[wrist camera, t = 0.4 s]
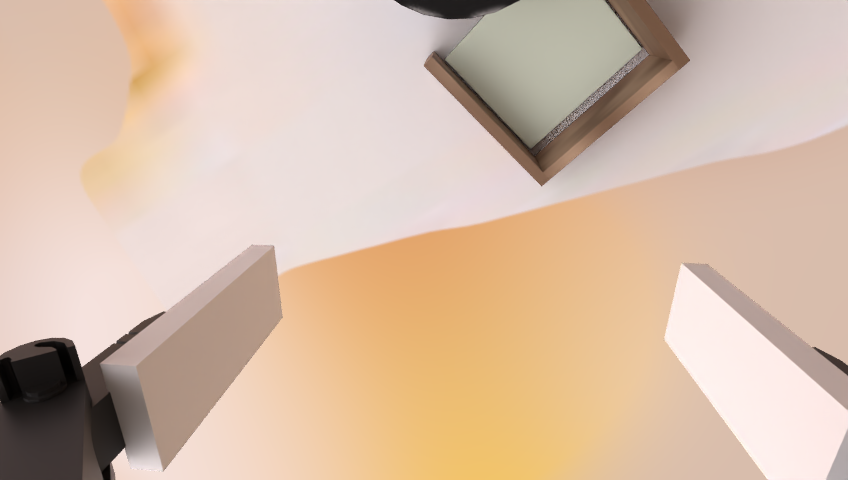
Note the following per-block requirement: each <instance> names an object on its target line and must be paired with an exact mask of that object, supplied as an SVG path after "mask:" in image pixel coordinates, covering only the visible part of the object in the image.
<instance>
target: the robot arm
mask: <svg viewBox="0 0 848 480" xmlns="http://www.w3.org/2000/svg"><path fill="white" fill-rule="evenodd" d="M281 319H282V310H281V301H280V292H279V284H278V275H277V267H276V258H275V250H274V246H268V245H251V246H250V247H249V248H247V249H246V250H245V251H244V252H242V253H241V254H240V255H238V256H237V257H236V258H235V259H233V260H232V261H231V262H229V263H228V264H227V265H226V266H224V267H223V268H222V269H221V270H219V271H218V272H217V273H215V274H214V275H213V276H212V277H210V278H209V279H208V280H206V281H205V282H204V283H203V284H201V285H200V286H199V287H197V288H196V289H195V290H194V291H192V292H191V293H190V294H188V295H187V296H186V297H185V298H183V299H182V300H181V301H179V302H178V303H177V304H176V305H174V306H173V307H172V308H170V309H169V310H168V311H167V312H162V313H159V314H157V315H155V316H153V317H151V318H149V319H147V320H144V321H143V322H141V323H140V324H139V325H137V326H136V327H135V328H133V329H132V330H131V331H130V332H129V334H125V335H124V336H123V337H121V338H120V339H119V340H118V341H117V343H116V344H112V345H111V346H110V347H108V348H107V349H106V350H104V351H103V352H102V353H100V354H99V355H98V356H96V357H95V358H94V359H92V360H91V361H90V362H88V363H87V364H86V365H84V366H83V367H81V364H80V361H79V357H78V354H77V351H76V348H75V345H74V343H73V341H72V340H69V339H66V338H49V339H43V340H38V341H34V342H30V343H27V344H24V345H21V346H18V347H16V348H14V349H12V350H9V351H7V352H5V353H3V354H2V355H1V356H0V480H115V473H114V469H113V466H112V463H111V462H112V461H113V459H114V458H115V457H116V456H117V455H118V454H119V453H120V452H121V451H122V450H123V449H124V448H125V450H126V454H127V458H128V461H129V464H130V468H131V469H141V470H152V471H164V470H165V469H166V467H167V466H168V465H169V464H170V462H171V461H172V460H173V459H174V457H175V456H176V454H177V453H178V452H179V451H180V449H181V448H182V447H183V446H184V444H185V443H186V442H187V440H188V439H189V438H190V436H191V435H192V434H193V433H194V431H195V430H196V429H197V427H198V426H199V425H200V424H201V422H202V421H203V419H204V418H205V417H206V416H207V415H208V413H209V412H210V410H211V409H212V408H213V407H214V405H215V404H216V402H218V400H219V399H220V398H221V396H222V395H223V394H224V393H225V391H226V390H227V389H228V387H229V386H230V385H231V383H232V382H233V381H234V380H235V378H236V377H237V376H238V374H239V373H240V372H241V371H242V369H243V368H244V367H245V365H246V364H247V363H248V361H249V360H250V359H251V358H252V356H253V355H254V354H255V352H256V351H257V350H258V349H259V347H260V346H261V345H262V343H263V342H264V341H265V339H266V338H267V337H268V336H269V334H270V333H271V332H272V330H273V329H274V328H275V326H276V325H277V324H278V323H279V321H280V320H281ZM664 339H665V341H666V342H667V344H668V345H669V346H670V348H671V349H672V350H673V352H674V353H675V355H676V356H677V357H678V359H679V360H680V361H681V363H682V364H683V365H684V367H685V368H686V370H687V371H688V372H689V374H690V375H691V376H692V378H693V379H694V380H695V382H696V383H697V384H698V386H699V387H700V389H701V390H702V391H703V392H704V394H705V395H706V397H707V398H708V399H709V401H710V402H711V403H712V405H713V406H714V408H715V409H716V410H717V411H718V413H719V414H720V416H721V417H722V418H723V420H724V421H725V422H726V424H727V425H728V426H729V428H730V429H731V431H732V432H733V433H734V435H735V436H736V437H737V439H738V440H739V441H740V443H741V444H742V445H743V447H744V448H745V450H746V451H747V452H748V453H749V455H750V456H751V458H752V459H753V460H754V462H755V463H756V465H757V466H758V467H759V469H760V470H761V471H762V473H763V474H764V475H765V477H766V478H767V479H768V480H848V365H846V364H845V363H843V362H842V361H841V360H839V359H837V358H835V357H833V356H831V355H829V354H827V353H825V352H824V351H822V350H820V349H817V348H816V347H811V346H810V345H808V344H807V343H806V342H805V341H803V340H802V339H801V338H800V337H798V336H797V335H796V334H795V333H793V332H792V331H791V330H790V329H788V328H787V327H786V326H785V325H783V324H782V323H781V322H779V321H778V320H777V319H776V318H774V317H773V316H772V315H771V314H769V313H768V312H767V311H766V310H764V309H763V308H762V307H761V306H759V305H758V304H757V303H756V302H754V301H753V300H752V299H750V298H749V297H748V296H747V295H745V294H744V293H743V292H742V291H740V290H739V289H738V288H737V287H736V286H734V285H733V284H732V283H730V282H729V281H728V280H727V279H725V278H724V277H723V276H722V275H720V274H719V273H718V272H717V271H715V270H714V269H713V268H712V267H710V266H709V265H708V264H692V263H681V267H680V272H679V277H678V281H677V285H676V289H675V294H674V298H673V302H672V307H671V311H670V316H669V320H668V324H667V329H666V333H665V338H664Z"/></svg>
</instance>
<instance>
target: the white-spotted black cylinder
mask: <svg viewBox="0 0 848 480" xmlns="http://www.w3.org/2000/svg"><path fill="white" fill-rule="evenodd" d="M395 1H396V2H398V3H399V4H400V5H402V6H405V7H407V8H409V9H412V10H414V11H416V12H419V13H421V14H423V15H428V16H434V17H439V18H444V19H466V18H475V17H479V16H483V15H487V14H491V13H495V12H497V11H499V10H502V9H504V8H506V7H508V6H510V5H512V4H514V3H516V2H518V1H520V0H395Z"/></svg>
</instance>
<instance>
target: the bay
mask: <svg viewBox="0 0 848 480" xmlns="http://www.w3.org/2000/svg"><path fill="white" fill-rule="evenodd" d="M607 1H608V2H609V3H610V4H611V6H612V7H613V8H614V10H615V11H616V12H617V13H618V15H619V16H620V17H621V19H622V20H623V21H624V23H625V24H626V25H627V26H628V28H629V29H630V30H631V32H632V33H633V34H634V35H635V37H636V38H637V39H638V41H639V42H640V43H641V45H642V46H643V47H644V48H645V50H646V51H647V52H648V54H649V55H648V56H647V57H646V58H645V59H644V60H643V61H642V62H641V63H639V64H638V65H637V66H636V67H635V68H634V69H633V70H632V71H630V72H629V73H628V74H627V75H626V76H625V77H624V78H622V79H621V80H620V81H619V82H618V83H617V84H616V85H615V86H613V87H612V88H611V89H610V90H609V91H608V92H607V93H606V94H604V95H603V96H602V97H601V98H600V99H599V100H598V101H597V102H595V103H594V104H593V105H592V106H591V107H590V108H589V109H588V110H586V111H585V112H584V113H583V114H582V115H581V116H580V117H578V118H577V119H576V120H575V121H574V122H573V123H572V124H571V125H569V126H568V127H567V128H566V129H565V130H564V131H563V132H562V133H560V134H559V135H558V136H557V137H556V138H555V139H554V140H553V141H551V142H550V143H549V144H548V145H547V146H546V147H545V148H544V149H542V150H541V151H540V152H539V153H538V154H537V155H536V156H534V155H533V154H532V153H531V152H530V151H529V150H528V149H527V148H526V147H525V146H524V145H523V144H522V143H521V142H520V141H519V140H518V139H517V138H516V137H515V136H514V134H513V133H512V132H511V131H510V130H509V129H508V128H507V127H506V126H505V125H504V124H503V123H502V122H501V121H500V120H499V119H498V118H497V117H496V116H495V115H494V114H493V113H492V111H491V110H490V109H489V108H488V107H487V106H486V105H485V104H484V103H483V102H482V101H481V100H480V99H479V98H478V97H477V96H476V95H475V94H474V93H473V92H472V91H471V90H470V89H469V87H468V86H467V85H466V84H465V83H464V82H463V81H462V80H461V79H460V78H459V77H458V76H457V75H456V74H455V73H454V72H453V71H452V70H451V69H450V68H449V67H448V66H447V64H446V63H445V62H444V61H443V60H442V59H441V58H440V57H439V56H438V55H437V54H436V53H435V52H433V53H432V54H431V55H430V56H429V57H428V58H427V60H426V62H425V64H424V67H425V68H426V69H427V70H428V71H429V72H430V73H431V74H432V75H433V76H434V77H435V78H436V79H437V80H438V81H439V82H440V83H441V84H442V85H443V86H444V87H445V88H446V89H447V90H448V91H449V92H450V93H451V94H452V95H453V96H454V97H455V98H456V99H457V100H458V101H459V102H460V103H461V104H462V105H463V106H464V107H465V109H466V110H467V111H468V112H469V113H470V114H471V115H472V116H473V117H474V118H475V119H476V120H477V121H478V122H479V123H480V124H481V125H482V126H483V127H484V128H485V129H486V130H487V131H488V132H489V133H490V134H491V135H492V136H493V137H494V138H495V139H496V140H497V141H498V142H499V143H500V144H501V145H502V146H503V147H504V148H505V149H506V150H507V151H508V152H509V153H510V155H511V156H512V157H513V158H514V159H515V160H516V161H517V162H518V163H519V164H520V165H521V166H522V167H523V168H524V169H525V170H526V171H527V172H528V173H529V174H530V175H531V176H532V177H533V178H534V179H535V180H536V181H537V182H538V183H539V184H540V185H541V186H543V185H544V184H545V183H546V182H547V181H548V180H550V179H551V178H552V177H553V176H554V175H556V174H557V173H558V172H559V171H560V170H561V169H563V168H564V167H565V166H566V165H567V164H569V163H570V162H571V161H572V160H573V159H574V158H576V157H577V156H578V155H579V154H580V153H582V152H583V151H584V150H585V149H586V148H587V147H589V146H590V145H591V144H592V143H593V142H595V141H596V140H597V139H598V138H599V137H600V136H602V135H603V134H604V133H605V132H606V131H607V130H609V129H610V128H611V127H612V126H613V125H615V124H616V123H617V122H618V121H619V120H620V119H622V118H623V117H624V116H625V115H626V114H628V113H629V112H630V111H631V110H632V109H633V108H635V107H636V106H637V105H638V104H639V103H641V102H642V101H643V100H644V99H645V98H646V97H648V96H649V95H650V94H651V93H652V92H653V91H655V90H656V89H657V88H658V87H659V86H661V85H662V84H663V83H664V82H665V81H666V80H668V79H669V78H670V77H671V76H672V75H674V74H675V73H676V72H677V71H678V70H679V69H681V68H682V67H683V66H684V65H685V64H687V63H688V62H689V61H690V59H689V58H688V57H687V55H686V54H685V53H684V51H683V50H682V49H681V47H680V46H679V45H678V43H677V42H676V41H675V39H674V38H673V36H672V35H671V34H670V32H669V31H668V30H667V28H666V27H665V26H664V24H663V23H662V22H661V20H660V19H659V18H658V16H657V15H656V14H655V12H654V11H653V10H652V8H651V7H650V5H649V4H648V3H647V1H646V0H607ZM641 50H642V48H641V47H640V45H639V44H638V43H637V42H636V40H635V39H634V38H633V36H632V35H631V34H630V33H629V31H628V30H627V29H626V27H625V26H624V25H623V24H622V22H621V21H620V20H619V18H618V17H617V16H616V15H615V13H614V12H613V11H612V9H611V8H610V7H609V6H608V4H607V3H606V2H605V0H520V1H518V2H516V3H514V4H512V5H510V6H508V7H506V8H504V9H502V10H499V11H497V12H495V13H491V14H487V15H485V16H484V17H483V18H482V19H481V20H480V21H479V22H478V23H477V24H476V26H475V27H474V28H473V29H472V30H471V31H470V32H469V33H468V34H467V35H466V37H465V38H464V39H463V40H462V41H461V42H460V43H459V44H458V45H457V46H456V47H455V49H454V50H453V51H452V52H451V53H450V54H449V55H448V56H447V57H446V58H445V60H446V61H447V62H448V63H449V64H450V65H451V66H452V67H453V68H454V69H455V70H456V72H457V73H458V74H459V75H460V76H461V77H462V78H463V79H464V80H465V81H466V82H467V83H468V84H469V85H470V86H471V87H472V88H473V89H474V90H475V91H476V92H477V94H478V95H479V96H480V97H481V98H482V99H483V100H484V101H485V102H486V103H487V104H488V105H489V106H490V107H491V108H492V109H493V110H494V111H495V112H496V113H497V114H498V116H499V117H500V118H501V119H502V120H503V121H504V122H505V123H506V124H507V125H508V126H509V127H510V128H511V129H512V130H513V131H514V132H515V133H516V134H517V135H518V136H519V138H520V139H521V140H522V141H523V142H524V143H525V144H526V145H527V146H528V147H529V148H530V149H532V148H533V147H534V146H535V145H536V144H537V143H538V142H539V141H541V140H542V139H543V138H544V137H545V136H546V135H547V134H548V133H549V132H551V131H552V130H553V129H554V128H555V127H556V126H557V125H558V124H559V123H561V122H562V121H563V120H564V119H565V118H566V117H567V116H568V115H569V114H571V113H572V112H573V111H574V110H575V109H576V108H577V107H578V106H580V105H581V104H582V103H583V102H584V101H585V100H586V99H587V98H588V97H590V96H591V95H592V94H593V93H594V92H595V91H596V90H597V89H598V88H600V87H601V86H602V85H603V84H604V83H605V82H606V81H607V80H608V79H610V78H611V77H612V76H613V75H614V74H615V73H616V72H617V71H618V70H620V69H621V68H622V67H623V66H624V65H625V64H626V63H627V62H629V61H630V60H631V59H632V58H633V57H634V56H635V55H636V54H637V53H639V52H640V51H641Z"/></svg>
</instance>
